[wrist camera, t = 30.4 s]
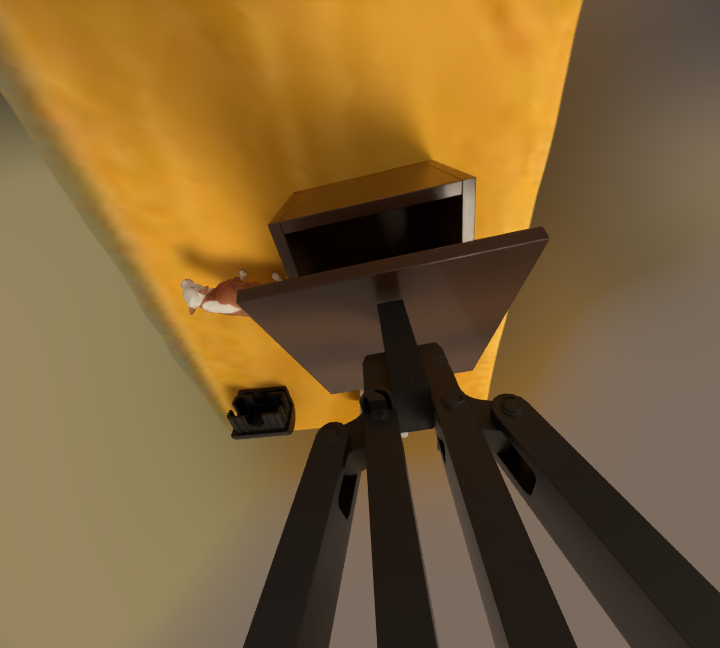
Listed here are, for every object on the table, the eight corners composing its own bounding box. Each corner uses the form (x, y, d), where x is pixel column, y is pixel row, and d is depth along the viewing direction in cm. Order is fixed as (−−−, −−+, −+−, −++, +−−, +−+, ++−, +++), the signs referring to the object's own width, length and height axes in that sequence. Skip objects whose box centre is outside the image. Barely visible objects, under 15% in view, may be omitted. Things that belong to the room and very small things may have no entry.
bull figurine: (201, 255, 36) (168, 284, 29) (305, 275, 38) (296, 307, 32) (203, 285, 39) (174, 318, 32) (301, 302, 41) (292, 336, 34)
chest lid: (236, 289, 15) (235, 303, 15) (542, 225, 14) (551, 238, 13) (330, 386, 32) (331, 394, 32) (470, 362, 31) (472, 370, 30)
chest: (293, 192, 32) (267, 224, 22) (432, 159, 31) (476, 177, 20) (335, 323, 43) (331, 387, 33) (438, 303, 42) (470, 363, 31)
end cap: (247, 414, 55) (236, 446, 50) (235, 390, 51) (221, 422, 45) (297, 410, 55) (292, 441, 49) (289, 385, 51) (282, 417, 45)
